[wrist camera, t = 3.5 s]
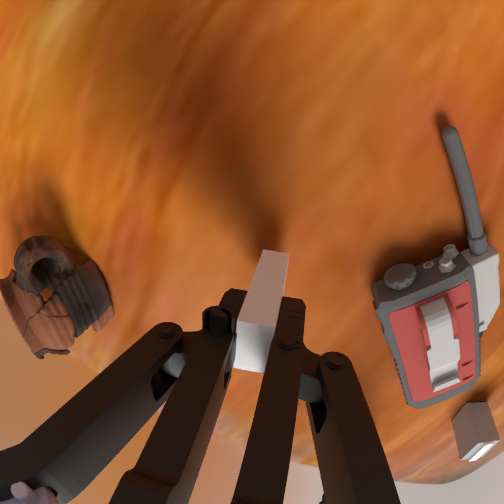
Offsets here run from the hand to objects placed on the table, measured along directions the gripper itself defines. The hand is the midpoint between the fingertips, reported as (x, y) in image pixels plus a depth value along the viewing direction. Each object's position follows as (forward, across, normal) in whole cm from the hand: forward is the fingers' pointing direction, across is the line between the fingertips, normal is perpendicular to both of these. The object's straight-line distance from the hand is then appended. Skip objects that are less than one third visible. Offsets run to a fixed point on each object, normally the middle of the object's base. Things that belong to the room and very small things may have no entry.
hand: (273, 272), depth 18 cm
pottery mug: (+2, -17, -5) cm, 18 cm away
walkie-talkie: (+2, +11, 0) cm, 11 cm away
